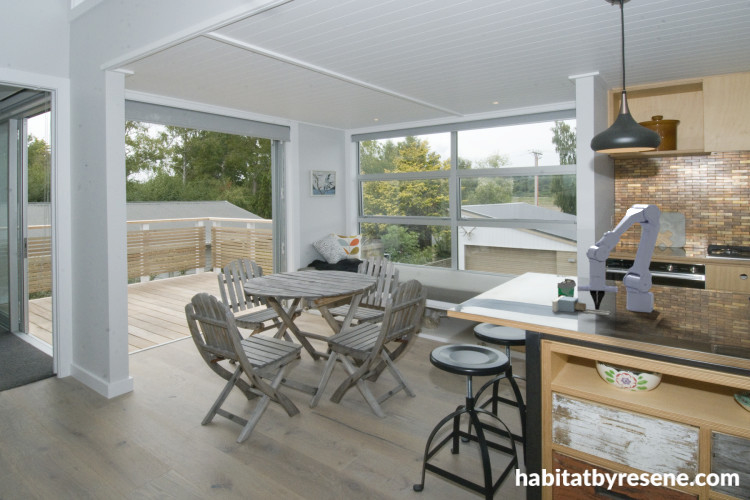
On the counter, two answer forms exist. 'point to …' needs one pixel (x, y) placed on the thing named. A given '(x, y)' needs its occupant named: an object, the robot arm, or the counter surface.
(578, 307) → the dowel
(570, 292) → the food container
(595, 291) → the robot arm
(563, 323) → the counter surface
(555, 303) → the wall
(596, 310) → the cradle
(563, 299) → the block
